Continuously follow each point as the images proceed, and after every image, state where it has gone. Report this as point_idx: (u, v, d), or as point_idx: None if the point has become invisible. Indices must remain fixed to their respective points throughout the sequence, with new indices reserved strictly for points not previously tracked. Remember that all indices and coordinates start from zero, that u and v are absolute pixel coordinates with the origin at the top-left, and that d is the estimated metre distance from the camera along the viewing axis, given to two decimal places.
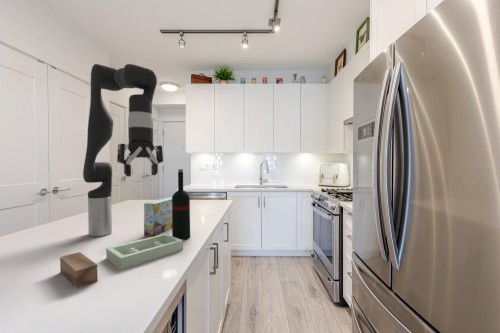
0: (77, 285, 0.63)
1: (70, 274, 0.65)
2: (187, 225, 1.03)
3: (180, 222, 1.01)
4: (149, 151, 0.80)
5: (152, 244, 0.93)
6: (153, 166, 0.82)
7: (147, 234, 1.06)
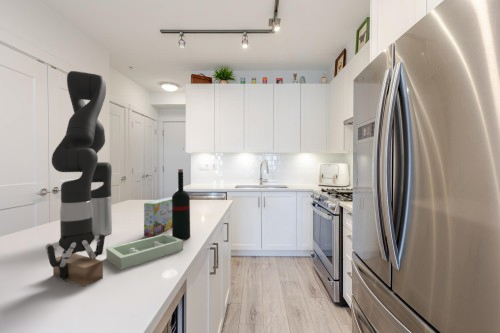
0: (85, 282, 0.64)
1: (73, 273, 0.66)
2: (187, 225, 1.03)
3: (180, 222, 1.01)
4: (86, 244, 0.69)
5: (152, 244, 0.93)
6: None
7: (147, 234, 1.06)
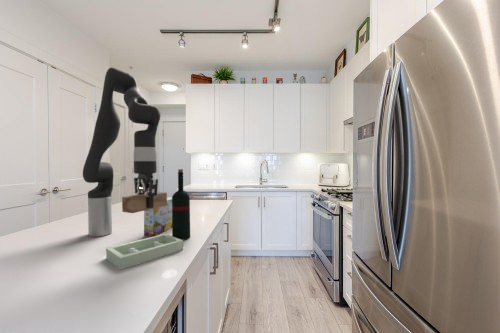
0: (122, 208, 0.80)
1: None
2: (187, 225, 1.03)
3: (180, 222, 1.01)
4: (142, 183, 0.83)
5: (152, 244, 0.93)
6: None
7: (147, 234, 1.06)
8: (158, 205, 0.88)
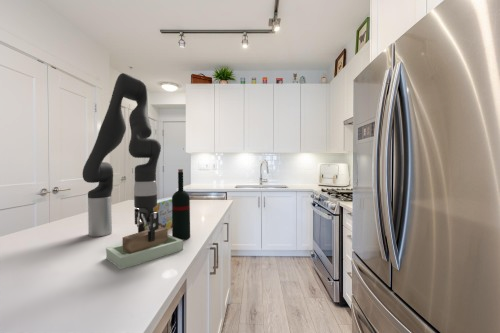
0: (123, 249, 0.81)
1: None
2: (187, 225, 1.03)
3: (180, 222, 1.01)
4: (143, 217, 0.83)
5: None
6: None
7: None
8: (158, 242, 0.88)
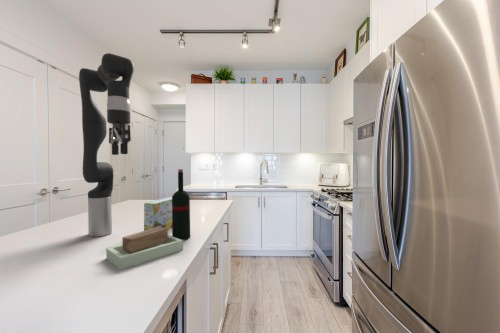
0: (123, 249, 0.81)
1: None
2: (187, 225, 1.03)
3: (180, 221, 1.01)
4: (115, 131, 0.86)
5: None
6: None
7: None
8: (158, 242, 0.88)
